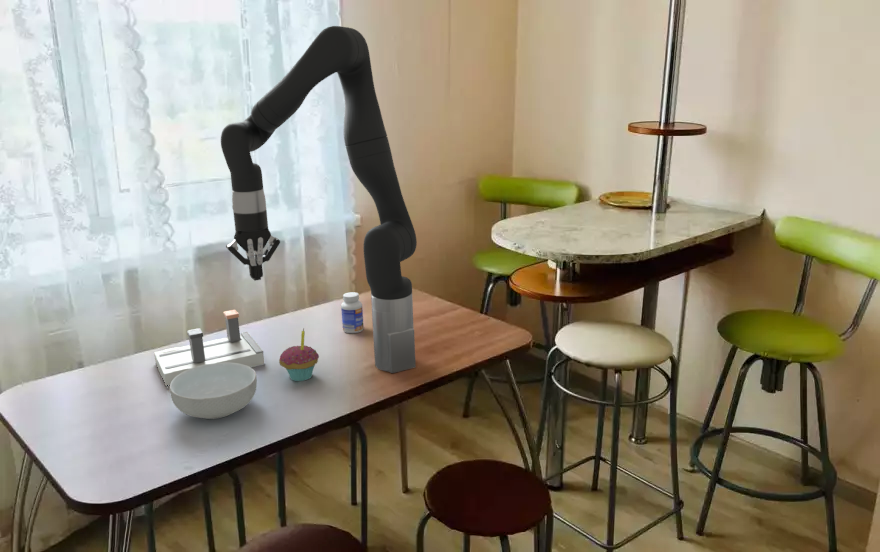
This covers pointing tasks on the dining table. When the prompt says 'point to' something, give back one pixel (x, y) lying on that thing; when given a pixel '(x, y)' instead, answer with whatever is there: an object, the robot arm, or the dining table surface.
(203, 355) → the black fader
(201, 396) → the cereal bowl
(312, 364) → the cupcake
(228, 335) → the terracotta fader
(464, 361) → the dining table surface
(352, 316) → the pill bottle
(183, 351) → the console
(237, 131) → the robot arm
